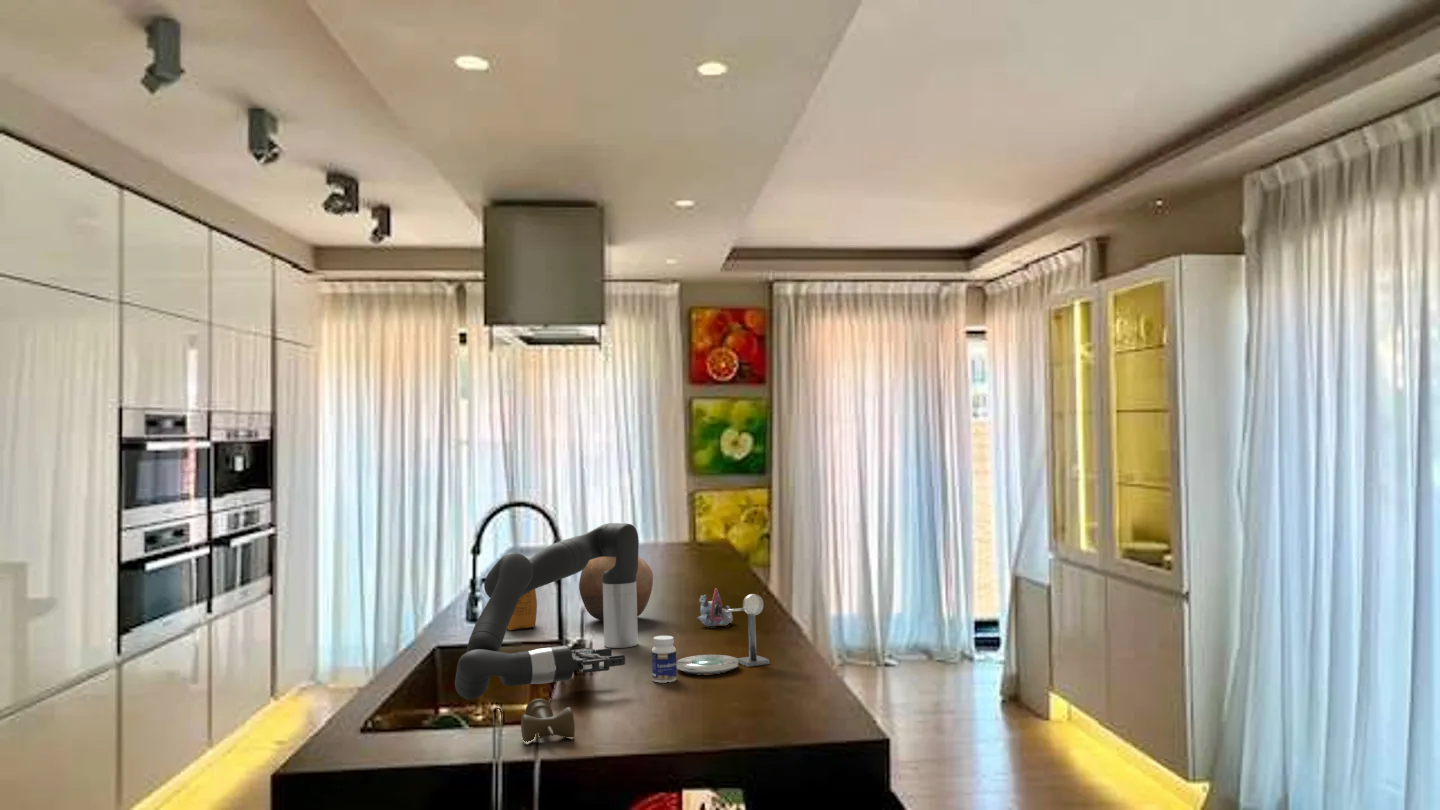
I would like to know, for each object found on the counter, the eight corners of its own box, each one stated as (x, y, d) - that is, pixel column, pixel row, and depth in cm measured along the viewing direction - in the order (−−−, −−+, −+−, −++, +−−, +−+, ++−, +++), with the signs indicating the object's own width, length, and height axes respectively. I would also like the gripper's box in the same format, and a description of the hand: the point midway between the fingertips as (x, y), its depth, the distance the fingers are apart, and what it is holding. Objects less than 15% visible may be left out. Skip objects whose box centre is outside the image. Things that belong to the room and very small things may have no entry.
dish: (666, 667, 243) (666, 659, 243) (721, 660, 250) (721, 651, 250) (692, 680, 230) (692, 671, 230) (749, 671, 237) (749, 662, 237)
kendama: (562, 722, 201) (580, 747, 182) (514, 729, 198) (526, 755, 179) (561, 692, 201) (578, 714, 182) (512, 698, 198) (525, 721, 179)
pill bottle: (658, 684, 227) (657, 640, 227) (648, 679, 232) (647, 636, 232) (681, 681, 229) (679, 637, 230) (670, 676, 234) (669, 633, 235)
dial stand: (721, 664, 245) (719, 595, 246) (757, 659, 250) (755, 591, 250) (732, 669, 240) (730, 598, 240) (769, 663, 244) (767, 594, 245)
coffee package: (536, 622, 312) (535, 552, 313) (537, 629, 300) (535, 556, 301) (504, 624, 310) (502, 553, 311) (503, 631, 298) (502, 558, 299)
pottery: (590, 615, 322) (588, 537, 323) (660, 614, 319) (658, 536, 320) (570, 628, 300) (568, 545, 300) (645, 628, 296) (643, 544, 297)
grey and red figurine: (733, 620, 291) (708, 587, 293) (705, 643, 293) (681, 610, 295) (743, 614, 302) (719, 582, 304) (716, 635, 304) (692, 603, 306)
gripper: (539, 675, 225) (607, 667, 232) (558, 688, 212) (629, 679, 219) (539, 642, 225) (606, 634, 232) (557, 653, 212) (628, 644, 220)
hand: (617, 656), depth 226 cm, fingers open, 8 cm apart
